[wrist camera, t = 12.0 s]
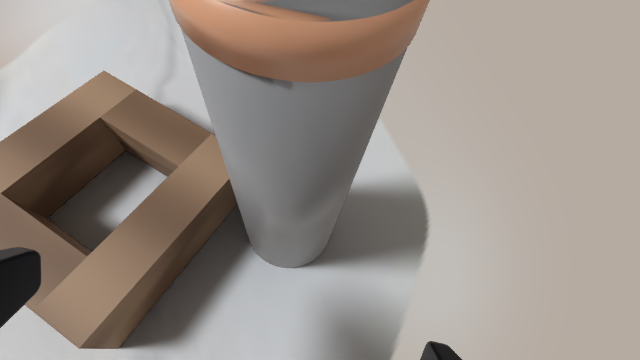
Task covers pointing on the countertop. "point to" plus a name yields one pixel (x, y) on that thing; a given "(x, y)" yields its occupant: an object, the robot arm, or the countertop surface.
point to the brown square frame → (134, 232)
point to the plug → (294, 104)
